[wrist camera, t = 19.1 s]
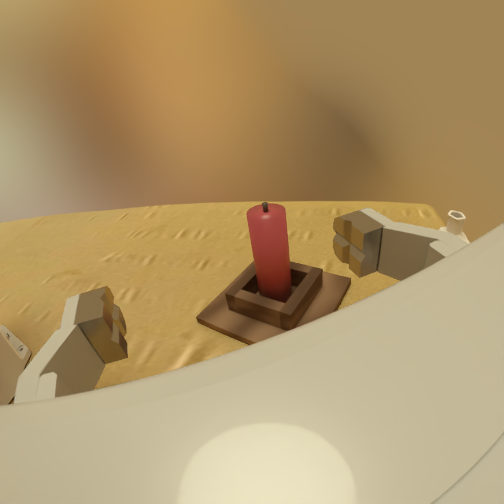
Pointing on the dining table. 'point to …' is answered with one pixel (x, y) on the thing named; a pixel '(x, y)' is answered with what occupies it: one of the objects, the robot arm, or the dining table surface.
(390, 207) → the dining table surface
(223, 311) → the walnut stand
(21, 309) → the dining table surface
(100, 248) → the dining table surface
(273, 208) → the burgundy candle
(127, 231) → the dining table surface
